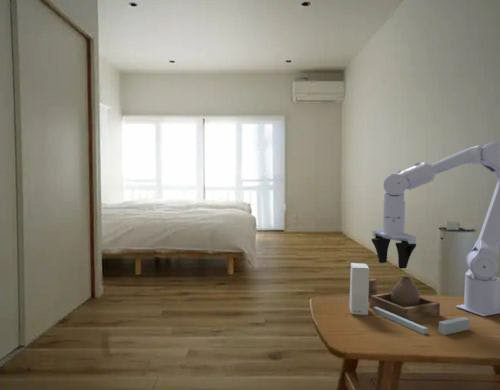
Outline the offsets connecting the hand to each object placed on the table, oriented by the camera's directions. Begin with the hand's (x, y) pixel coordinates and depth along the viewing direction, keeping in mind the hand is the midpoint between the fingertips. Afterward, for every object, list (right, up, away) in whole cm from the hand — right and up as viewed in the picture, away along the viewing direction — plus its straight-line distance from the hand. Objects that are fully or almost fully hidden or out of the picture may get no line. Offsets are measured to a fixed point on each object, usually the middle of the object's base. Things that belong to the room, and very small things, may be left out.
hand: (392, 265), depth 114 cm
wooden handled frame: (-2, -10, -5) cm, 12 cm away
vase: (0, -11, -9) cm, 14 cm away
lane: (+1, -11, -16) cm, 19 cm away
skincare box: (-12, -10, -10) cm, 19 cm away
